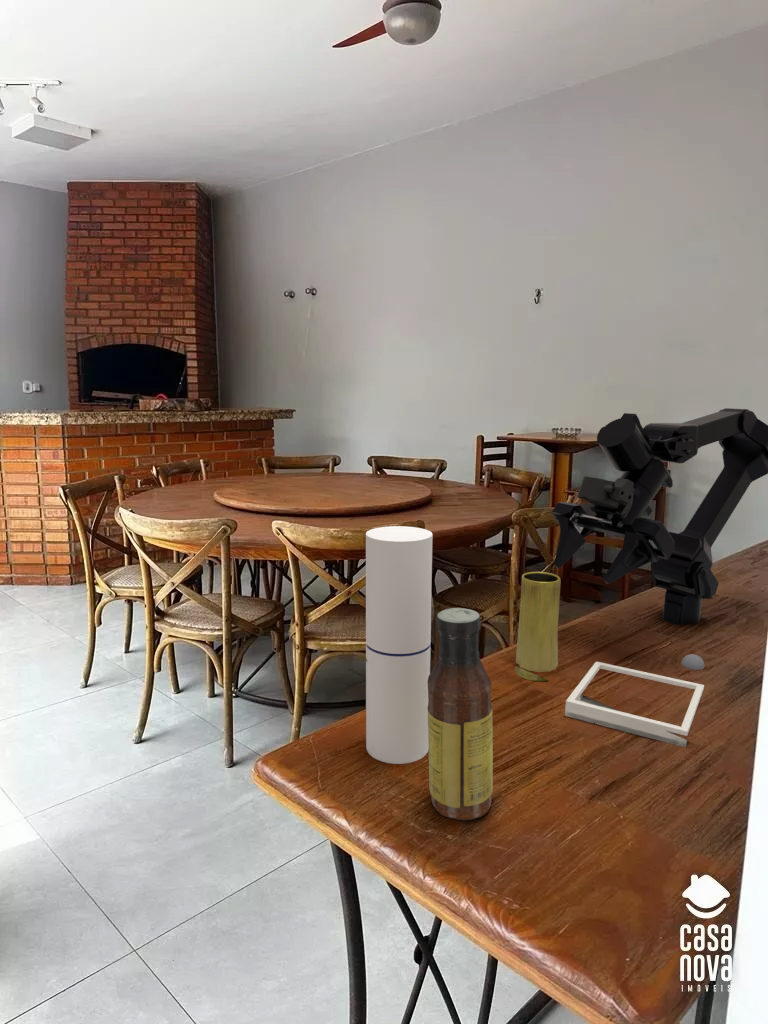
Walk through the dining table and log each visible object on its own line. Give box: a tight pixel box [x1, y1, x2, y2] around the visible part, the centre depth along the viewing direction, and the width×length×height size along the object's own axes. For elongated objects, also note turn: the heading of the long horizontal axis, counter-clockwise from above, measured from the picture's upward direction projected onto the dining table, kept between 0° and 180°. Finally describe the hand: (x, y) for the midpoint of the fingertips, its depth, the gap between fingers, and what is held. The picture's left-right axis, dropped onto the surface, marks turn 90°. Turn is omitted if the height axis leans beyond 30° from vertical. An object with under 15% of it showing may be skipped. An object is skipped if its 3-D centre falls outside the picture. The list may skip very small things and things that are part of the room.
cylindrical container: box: [365, 525, 434, 765], centre depth 76 cm, size 7×7×25 cm
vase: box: [513, 571, 562, 683], centre depth 96 cm, size 6×6×14 cm
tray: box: [564, 661, 705, 748], centre depth 87 cm, size 14×14×2 cm
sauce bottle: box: [428, 607, 494, 821], centre depth 66 cm, size 7×6×20 cm
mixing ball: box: [680, 653, 705, 671], centre depth 97 cm, size 3×3×3 cm
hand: (580, 573), depth 99 cm, fingers open, 9 cm apart
